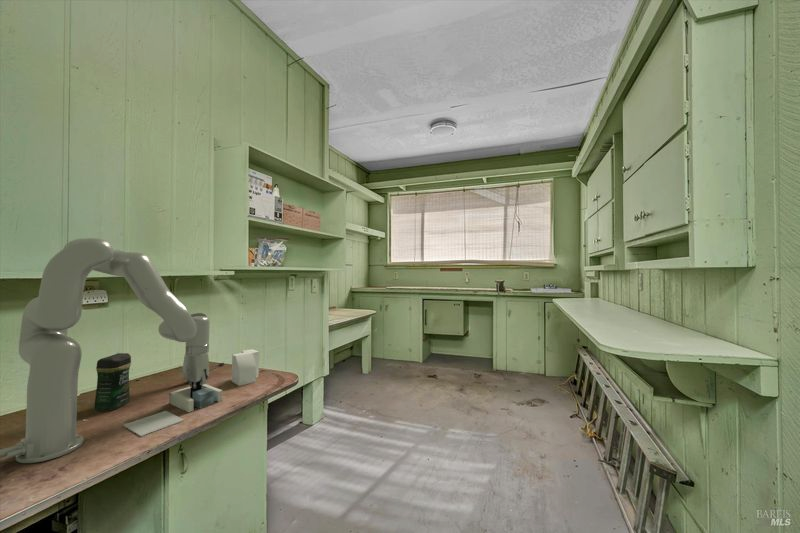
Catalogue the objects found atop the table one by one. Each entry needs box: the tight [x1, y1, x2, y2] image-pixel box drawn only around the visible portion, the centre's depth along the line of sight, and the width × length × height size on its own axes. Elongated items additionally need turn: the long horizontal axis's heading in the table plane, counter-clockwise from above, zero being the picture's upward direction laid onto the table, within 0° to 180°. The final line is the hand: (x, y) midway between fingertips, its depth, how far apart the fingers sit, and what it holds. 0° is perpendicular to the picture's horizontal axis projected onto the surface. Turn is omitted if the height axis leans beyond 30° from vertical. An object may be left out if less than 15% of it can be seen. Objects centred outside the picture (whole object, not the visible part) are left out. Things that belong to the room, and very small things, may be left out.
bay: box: [168, 383, 223, 413], centre depth 121 cm, size 12×14×4 cm
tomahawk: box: [209, 362, 225, 372], centre depth 156 cm, size 21×7×1 cm, turn 166°
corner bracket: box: [230, 348, 260, 387], centre depth 146 cm, size 11×11×12 cm
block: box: [191, 388, 215, 409], centre depth 119 cm, size 5×5×5 cm
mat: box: [123, 410, 185, 438], centre depth 104 cm, size 12×12×1 cm
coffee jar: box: [93, 352, 132, 412], centre depth 116 cm, size 10×8×19 cm
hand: (195, 397), depth 122 cm, fingers closed
